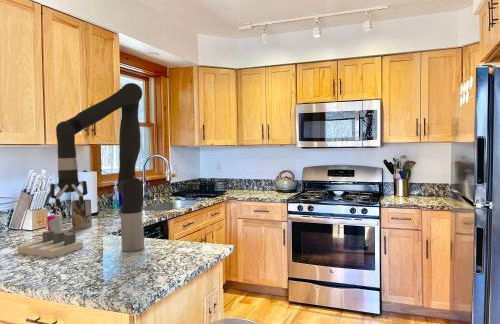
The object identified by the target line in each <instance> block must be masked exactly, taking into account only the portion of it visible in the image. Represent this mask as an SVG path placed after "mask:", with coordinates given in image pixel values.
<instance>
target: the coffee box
mask: <svg viewBox="0 0 500 324" xmlns="http://www.w3.org/2000/svg"><path fill="white" fill-rule="evenodd" d="M70 205H71V223H72V224H71V225H72V227H71V228H72V229H89V228H91V227H93V223H92V222H93V221H92V220H93V219H92V200H91V199H83V204H82V205H79V199H74V200H71V201H70Z"/></svg>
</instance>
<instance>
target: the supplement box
mask: <svg viewBox="0 0 500 324" xmlns="http://www.w3.org/2000/svg"><path fill="white" fill-rule="evenodd" d="M63 225H64V224H63V214H62V213H61V214H50V215H48V216H47V231H54V233H57V232H64V229H63Z"/></svg>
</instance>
